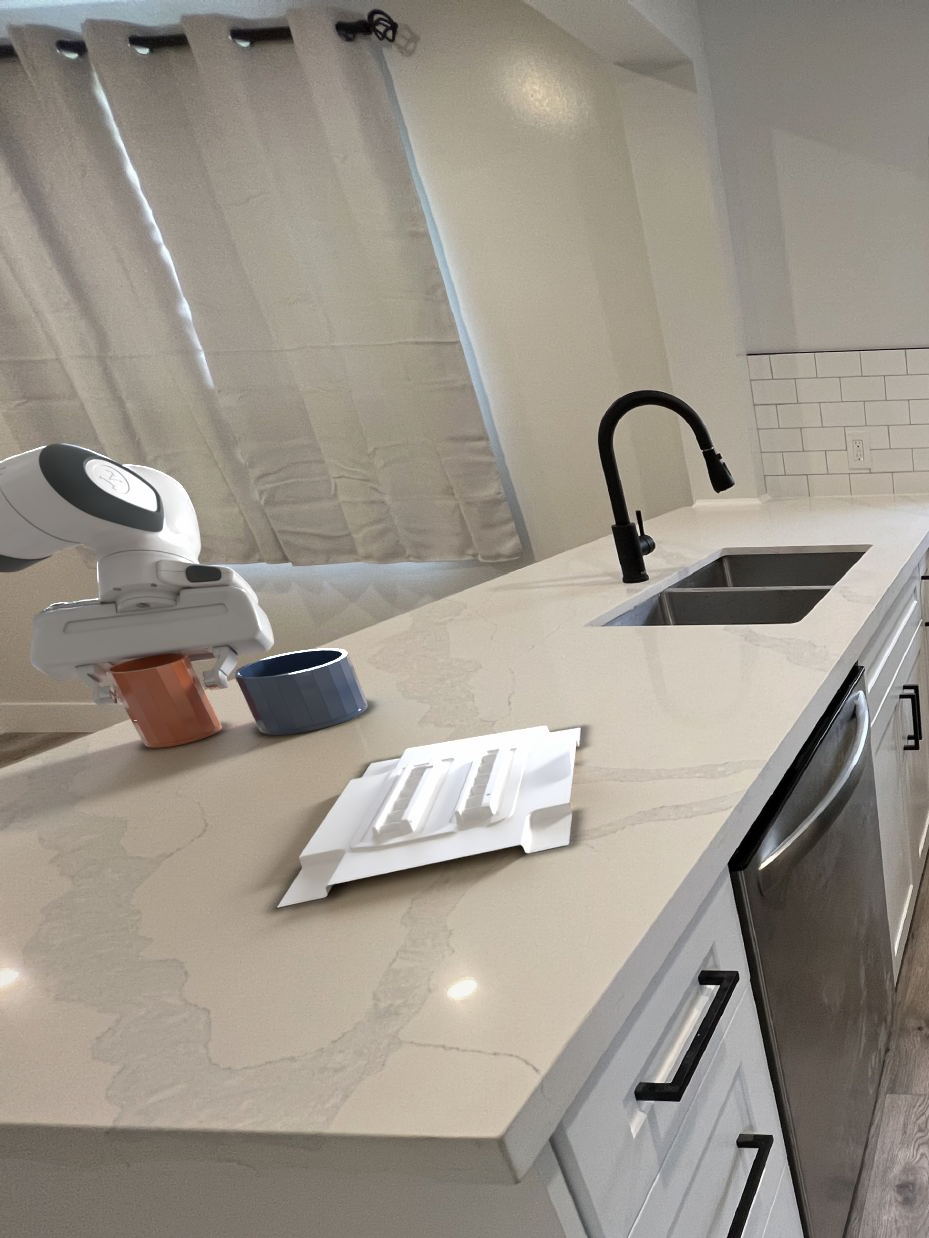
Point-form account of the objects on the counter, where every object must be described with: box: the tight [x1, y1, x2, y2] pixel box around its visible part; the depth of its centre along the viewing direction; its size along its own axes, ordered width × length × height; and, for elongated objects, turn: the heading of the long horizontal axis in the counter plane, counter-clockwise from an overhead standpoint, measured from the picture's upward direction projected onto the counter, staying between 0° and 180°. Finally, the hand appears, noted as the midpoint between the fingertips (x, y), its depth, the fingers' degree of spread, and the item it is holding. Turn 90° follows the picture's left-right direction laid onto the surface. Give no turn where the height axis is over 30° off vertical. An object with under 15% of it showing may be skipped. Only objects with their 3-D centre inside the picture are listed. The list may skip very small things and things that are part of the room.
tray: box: [277, 724, 582, 908], centre depth 75 cm, size 20×28×4 cm
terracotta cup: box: [106, 653, 223, 749], centre depth 91 cm, size 7×7×9 cm
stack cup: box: [232, 648, 369, 736], centre depth 95 cm, size 11×11×7 cm
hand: (162, 695), depth 90 cm, fingers open, 8 cm apart
